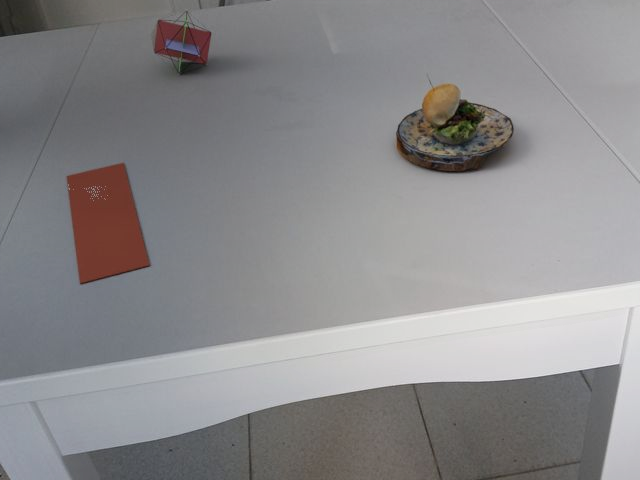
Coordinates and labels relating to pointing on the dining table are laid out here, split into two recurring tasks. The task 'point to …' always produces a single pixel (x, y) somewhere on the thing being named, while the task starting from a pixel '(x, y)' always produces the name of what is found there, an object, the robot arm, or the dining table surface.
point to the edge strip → (105, 224)
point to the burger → (451, 131)
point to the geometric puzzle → (181, 41)
